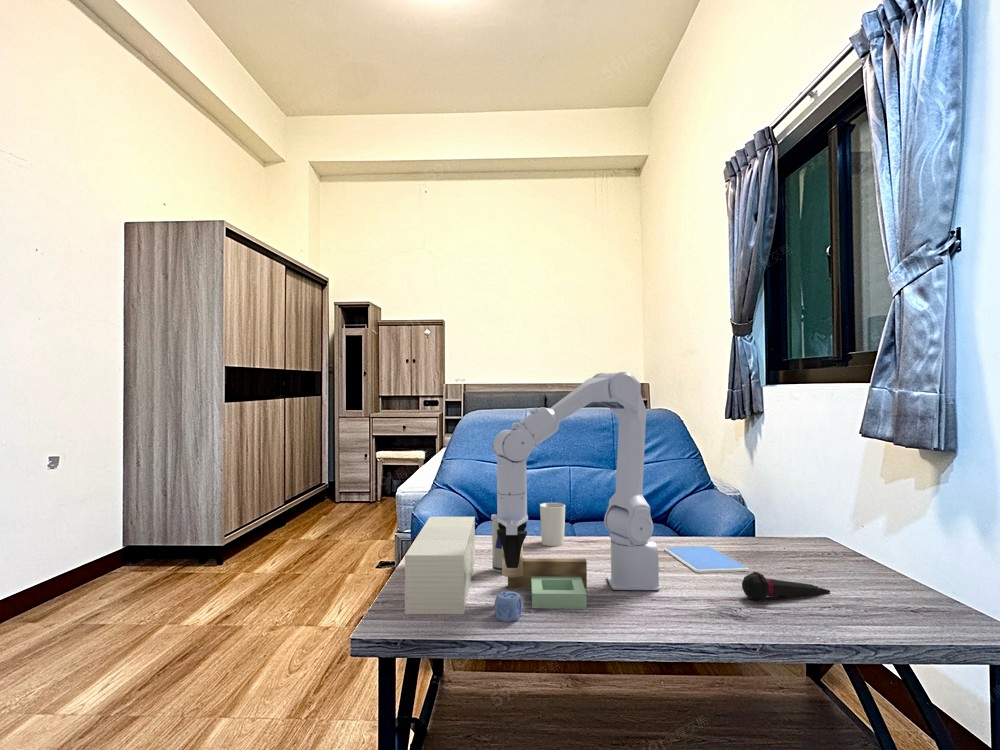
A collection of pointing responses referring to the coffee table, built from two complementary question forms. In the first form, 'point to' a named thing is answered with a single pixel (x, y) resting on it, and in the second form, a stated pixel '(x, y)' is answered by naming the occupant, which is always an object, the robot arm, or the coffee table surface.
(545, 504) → the drinking glass
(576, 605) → the socket block
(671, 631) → the coffee table surface
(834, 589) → the coffee table surface
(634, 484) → the robot arm
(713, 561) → the tablet computer
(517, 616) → the decorative dice
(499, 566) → the energy drink
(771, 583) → the microphone
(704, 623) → the coffee table surface
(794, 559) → the coffee table surface
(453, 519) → the stack of papers
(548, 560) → the backstop wall
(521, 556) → the dowel
